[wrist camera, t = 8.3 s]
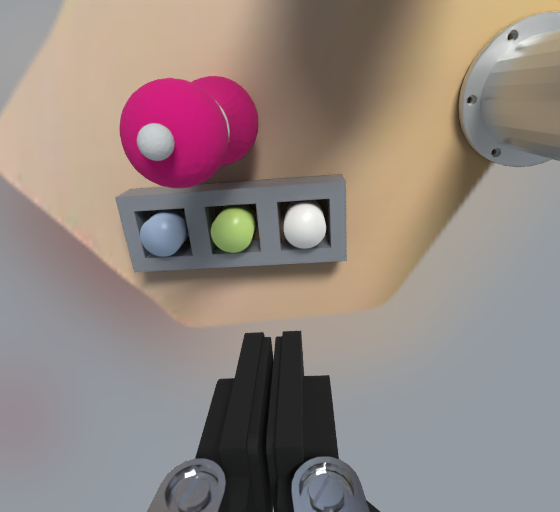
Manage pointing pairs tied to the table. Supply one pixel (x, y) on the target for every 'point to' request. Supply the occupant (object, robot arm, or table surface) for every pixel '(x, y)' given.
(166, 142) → the pepper mill
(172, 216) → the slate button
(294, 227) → the white rounded piece
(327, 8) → the table surface
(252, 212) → the lime button
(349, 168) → the table surface
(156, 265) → the panel
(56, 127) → the table surface
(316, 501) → the robot arm
